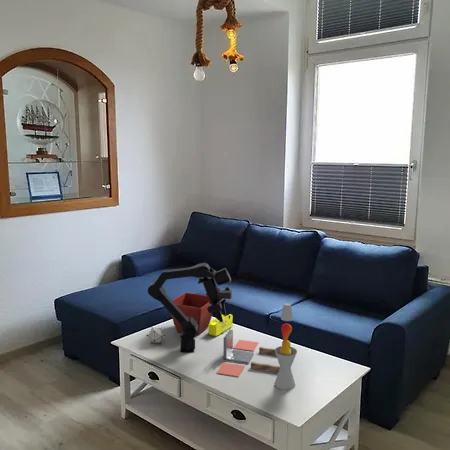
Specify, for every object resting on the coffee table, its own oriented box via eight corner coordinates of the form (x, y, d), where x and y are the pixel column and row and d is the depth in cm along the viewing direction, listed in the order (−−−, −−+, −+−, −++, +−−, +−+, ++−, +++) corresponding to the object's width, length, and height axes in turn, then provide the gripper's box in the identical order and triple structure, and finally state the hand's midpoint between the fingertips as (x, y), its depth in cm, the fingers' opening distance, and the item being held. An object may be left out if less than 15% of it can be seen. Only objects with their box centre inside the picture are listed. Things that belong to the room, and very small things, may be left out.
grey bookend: (223, 360, 215) (223, 337, 213) (229, 351, 225) (229, 329, 223) (248, 364, 212) (248, 341, 210) (253, 354, 221) (254, 332, 219)
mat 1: (216, 373, 203) (216, 372, 203) (223, 363, 212) (223, 362, 212) (238, 377, 200) (238, 376, 200) (244, 366, 209) (244, 365, 209)
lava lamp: (295, 390, 189) (298, 309, 183) (273, 388, 191) (275, 307, 184) (295, 379, 198) (298, 301, 192) (274, 377, 199) (276, 300, 193)
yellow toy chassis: (216, 337, 240) (216, 322, 239) (207, 335, 243) (207, 320, 242) (233, 327, 253) (233, 313, 252) (224, 325, 256) (224, 310, 255)
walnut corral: (250, 368, 208) (250, 363, 207) (259, 351, 224) (259, 346, 224) (283, 373, 203) (283, 368, 203) (290, 356, 220) (290, 351, 219)
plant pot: (216, 326, 254) (216, 297, 251) (200, 339, 237) (200, 308, 234) (185, 320, 262) (185, 292, 259) (168, 333, 245) (167, 302, 242)
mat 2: (233, 348, 227) (233, 347, 227) (239, 340, 237) (239, 339, 237) (253, 351, 224) (253, 350, 224) (258, 343, 234) (258, 342, 234)
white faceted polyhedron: (159, 348, 235) (170, 331, 236) (155, 349, 227) (167, 332, 228) (145, 338, 237) (156, 321, 238) (140, 339, 229) (152, 322, 230)
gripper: (224, 288, 209) (236, 320, 210) (229, 278, 227) (241, 307, 229) (201, 296, 211) (214, 327, 212) (208, 285, 229) (220, 314, 231)
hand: (223, 318), depth 221 cm, fingers open, 9 cm apart
